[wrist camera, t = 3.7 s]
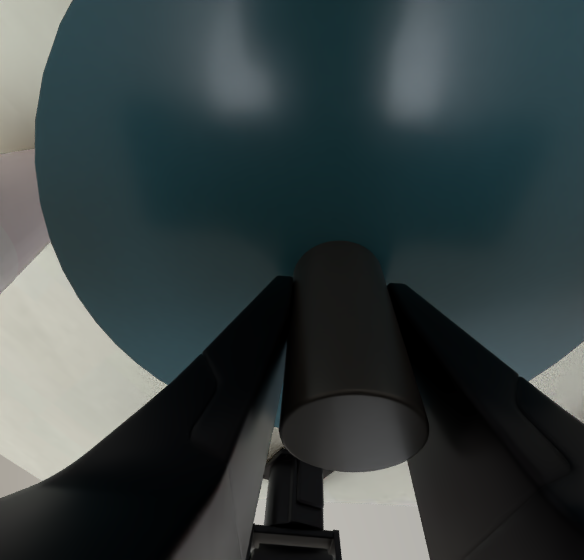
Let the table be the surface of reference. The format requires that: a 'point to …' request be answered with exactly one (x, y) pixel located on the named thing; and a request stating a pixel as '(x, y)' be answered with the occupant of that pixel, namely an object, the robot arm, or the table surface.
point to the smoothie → (19, 215)
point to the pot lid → (321, 189)
